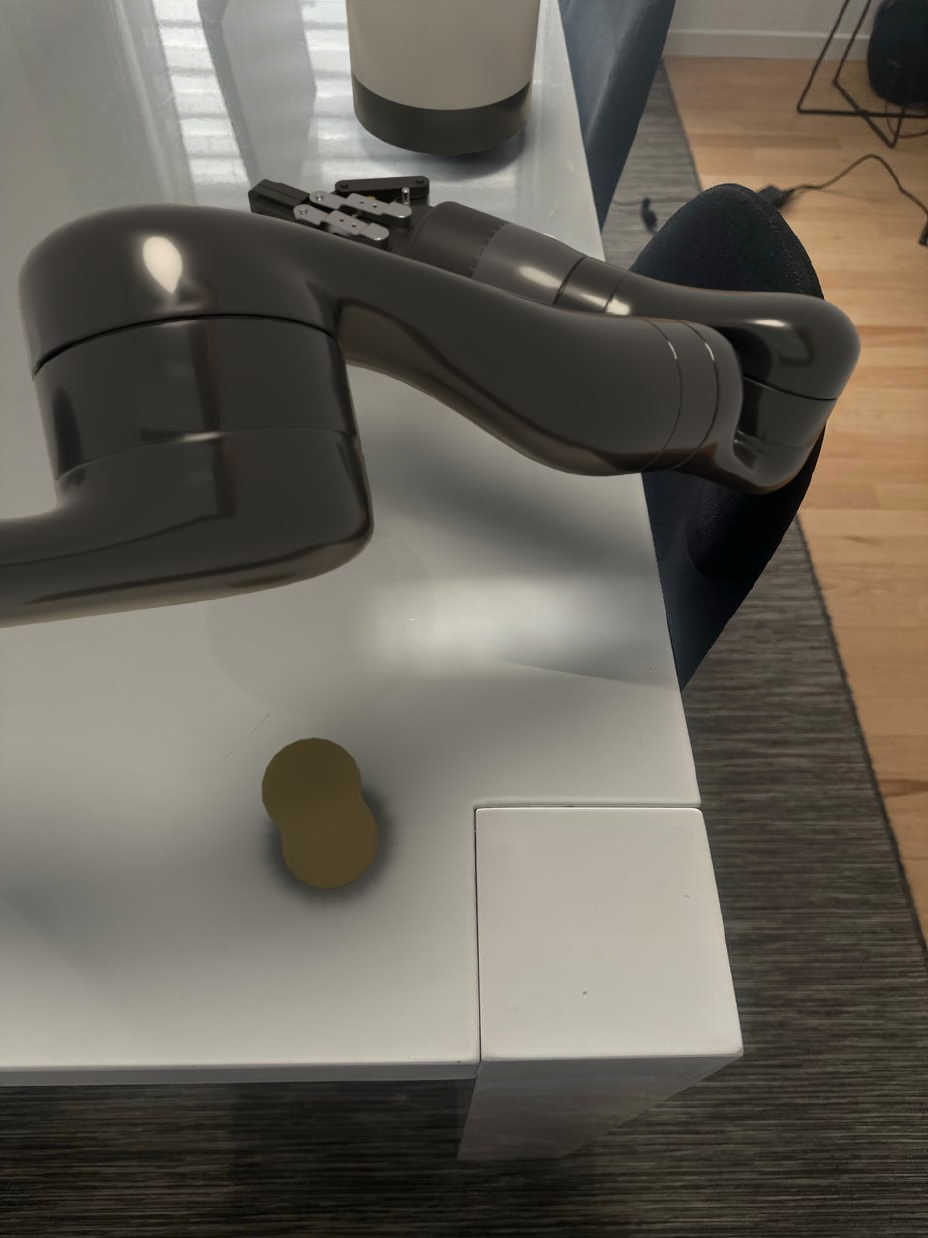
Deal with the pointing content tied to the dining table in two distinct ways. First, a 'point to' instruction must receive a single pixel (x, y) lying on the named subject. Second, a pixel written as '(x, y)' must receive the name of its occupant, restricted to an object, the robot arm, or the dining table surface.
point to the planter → (442, 71)
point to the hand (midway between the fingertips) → (256, 199)
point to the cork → (320, 813)
